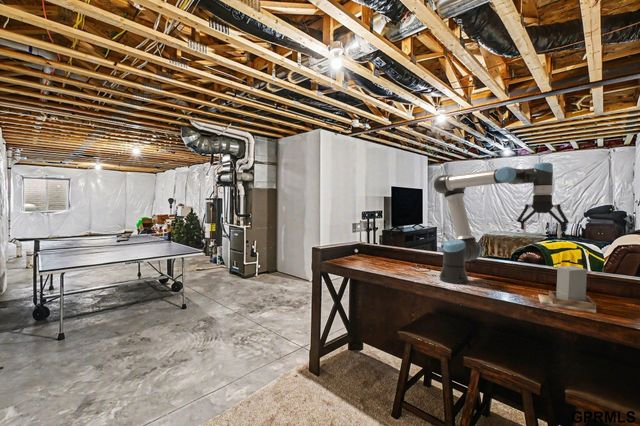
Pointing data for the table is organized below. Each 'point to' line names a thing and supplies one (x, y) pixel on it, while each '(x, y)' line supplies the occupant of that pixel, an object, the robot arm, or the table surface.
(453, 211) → the robot arm
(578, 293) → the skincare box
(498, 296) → the table surface
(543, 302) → the socket board
